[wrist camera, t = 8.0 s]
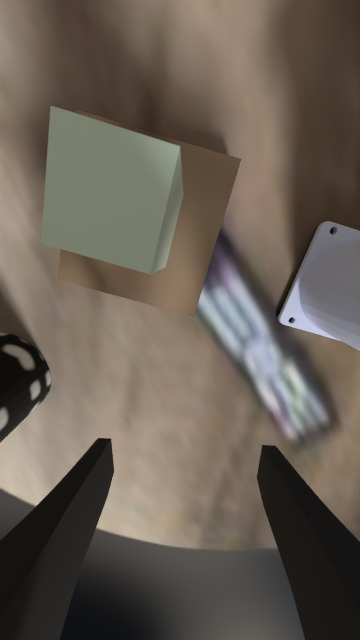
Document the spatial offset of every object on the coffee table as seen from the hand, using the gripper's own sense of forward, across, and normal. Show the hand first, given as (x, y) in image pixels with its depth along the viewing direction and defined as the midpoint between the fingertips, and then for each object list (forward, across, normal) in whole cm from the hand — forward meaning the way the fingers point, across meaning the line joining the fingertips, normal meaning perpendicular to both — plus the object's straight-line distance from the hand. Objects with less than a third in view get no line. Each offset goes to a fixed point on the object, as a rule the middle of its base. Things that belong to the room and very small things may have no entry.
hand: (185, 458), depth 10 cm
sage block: (+7, +3, -11) cm, 14 cm away
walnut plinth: (+10, +3, -11) cm, 15 cm away
